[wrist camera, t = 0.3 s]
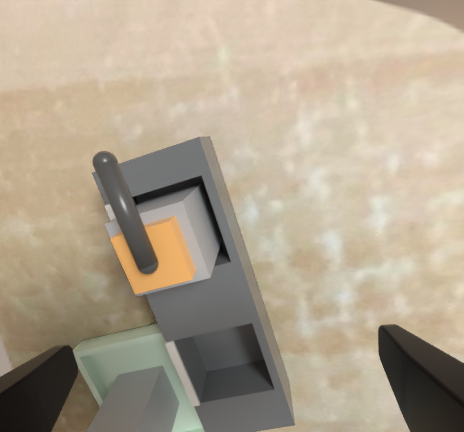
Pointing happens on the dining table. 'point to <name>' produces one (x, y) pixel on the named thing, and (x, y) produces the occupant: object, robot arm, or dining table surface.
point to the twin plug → (159, 232)
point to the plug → (138, 404)
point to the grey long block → (214, 306)
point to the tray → (133, 366)
